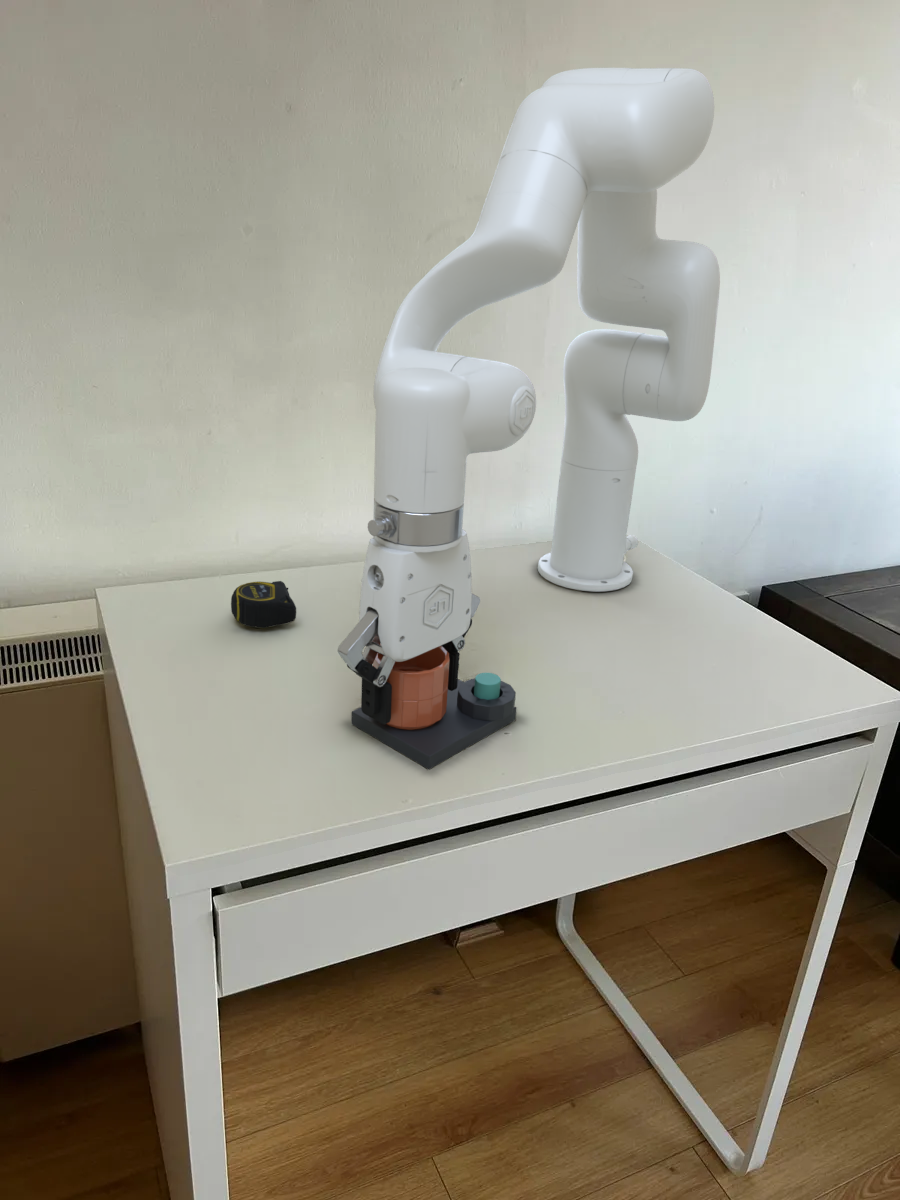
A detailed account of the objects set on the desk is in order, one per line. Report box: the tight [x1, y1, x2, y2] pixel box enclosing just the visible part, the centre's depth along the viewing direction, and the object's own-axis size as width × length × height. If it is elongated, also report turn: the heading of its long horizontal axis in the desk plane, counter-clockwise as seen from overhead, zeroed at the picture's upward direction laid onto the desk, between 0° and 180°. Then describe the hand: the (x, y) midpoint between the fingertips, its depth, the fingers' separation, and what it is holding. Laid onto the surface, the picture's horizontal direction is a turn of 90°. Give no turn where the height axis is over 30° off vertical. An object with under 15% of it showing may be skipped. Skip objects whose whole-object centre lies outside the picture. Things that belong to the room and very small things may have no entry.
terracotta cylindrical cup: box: [372, 644, 449, 730], centre depth 82 cm, size 7×7×6 cm
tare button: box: [474, 672, 502, 700], centre depth 84 cm, size 2×2×2 cm
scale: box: [350, 677, 517, 770], centre depth 84 cm, size 13×10×3 cm
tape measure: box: [230, 580, 297, 629], centre depth 102 cm, size 7×7×4 cm
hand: (410, 699), depth 83 cm, fingers open, 8 cm apart
